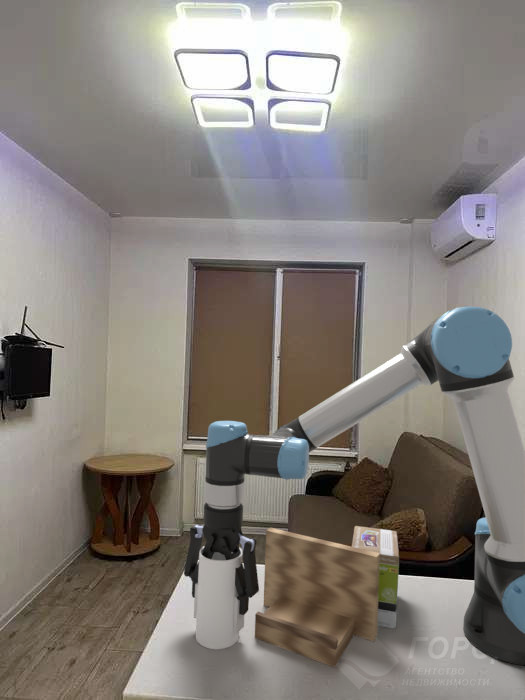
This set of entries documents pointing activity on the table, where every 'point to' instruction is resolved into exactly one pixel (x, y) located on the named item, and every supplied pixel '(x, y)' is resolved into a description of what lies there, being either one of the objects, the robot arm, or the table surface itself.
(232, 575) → the cup
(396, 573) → the tea box
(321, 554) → the board
